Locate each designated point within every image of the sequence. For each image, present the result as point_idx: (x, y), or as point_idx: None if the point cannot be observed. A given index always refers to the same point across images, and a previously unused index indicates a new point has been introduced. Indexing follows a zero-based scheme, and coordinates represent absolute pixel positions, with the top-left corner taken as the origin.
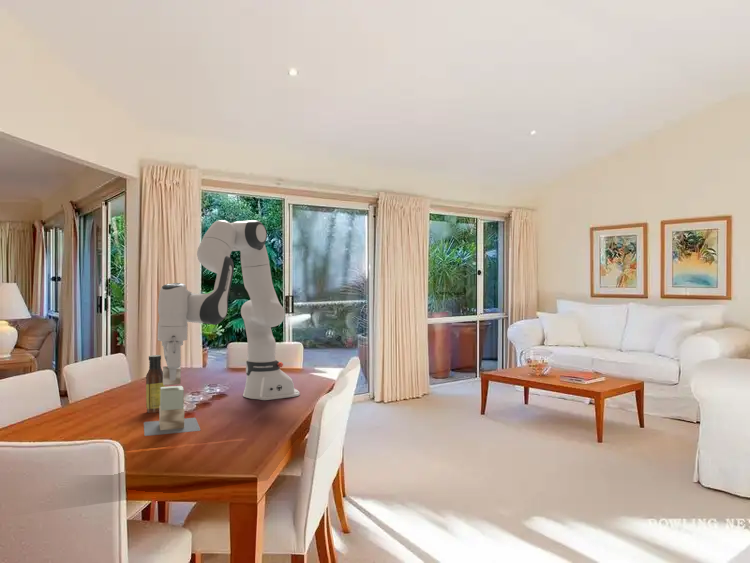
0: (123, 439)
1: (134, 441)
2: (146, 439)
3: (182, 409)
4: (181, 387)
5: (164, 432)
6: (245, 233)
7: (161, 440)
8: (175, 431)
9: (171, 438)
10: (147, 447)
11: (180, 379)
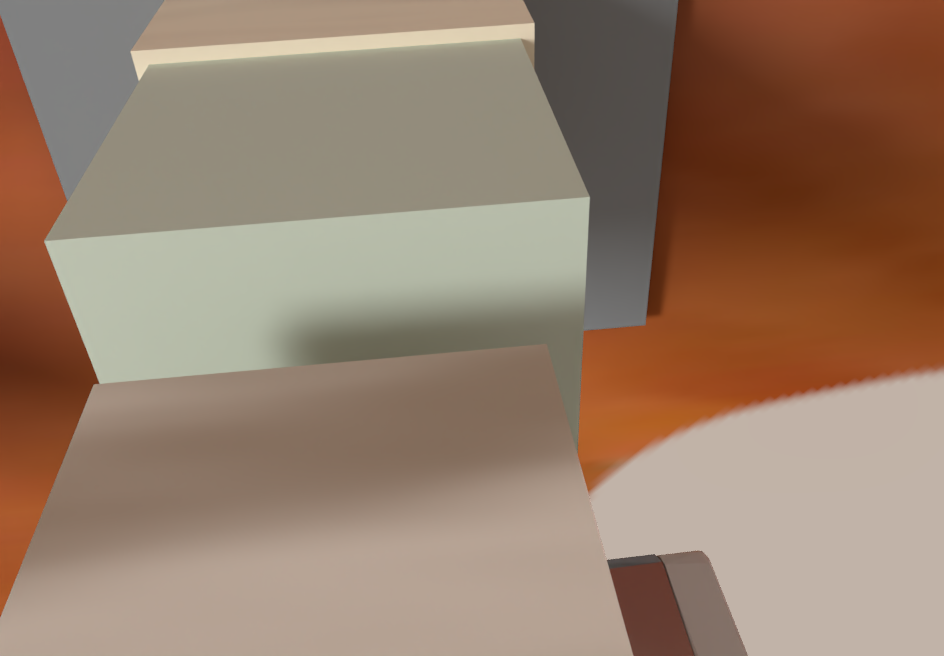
0: (609, 442)
1: (705, 371)
2: (692, 295)
3: (532, 53)
4: (288, 250)
5: (606, 166)
6: None
7: (794, 174)
8: (612, 52)
9: (777, 83)
10: (934, 271)
11: (567, 438)
